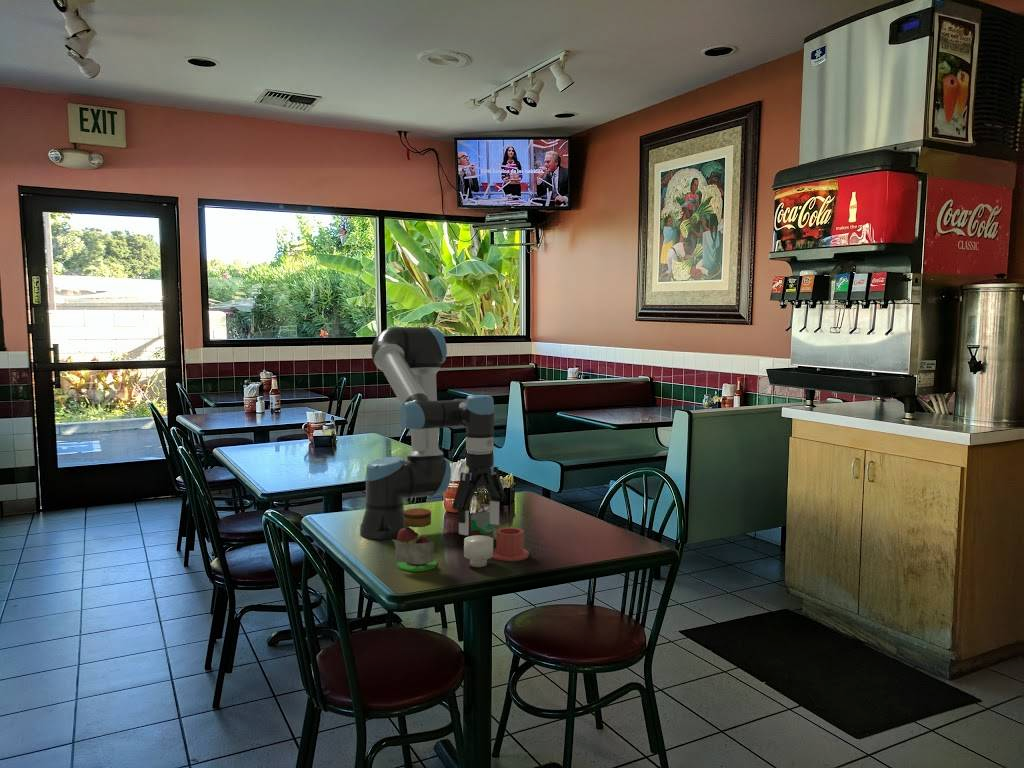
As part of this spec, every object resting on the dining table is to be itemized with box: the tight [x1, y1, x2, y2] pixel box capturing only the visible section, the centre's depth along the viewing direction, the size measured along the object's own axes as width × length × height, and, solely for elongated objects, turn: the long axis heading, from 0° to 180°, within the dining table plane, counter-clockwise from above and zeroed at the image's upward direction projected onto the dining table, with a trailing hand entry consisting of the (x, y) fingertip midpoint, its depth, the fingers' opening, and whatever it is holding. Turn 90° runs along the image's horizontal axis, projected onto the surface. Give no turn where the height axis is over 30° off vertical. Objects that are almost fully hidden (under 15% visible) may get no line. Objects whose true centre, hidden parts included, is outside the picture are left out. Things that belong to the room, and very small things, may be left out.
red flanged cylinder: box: [491, 527, 530, 562], centre depth 214 cm, size 11×11×7 cm
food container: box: [470, 503, 495, 539], centre depth 228 cm, size 12×6×10 cm, turn 168°
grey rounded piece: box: [463, 535, 494, 568], centre depth 205 cm, size 8×8×7 cm
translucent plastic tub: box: [391, 507, 438, 572], centre depth 203 cm, size 12×13×15 cm
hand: (479, 529), depth 204 cm, fingers open, 13 cm apart
